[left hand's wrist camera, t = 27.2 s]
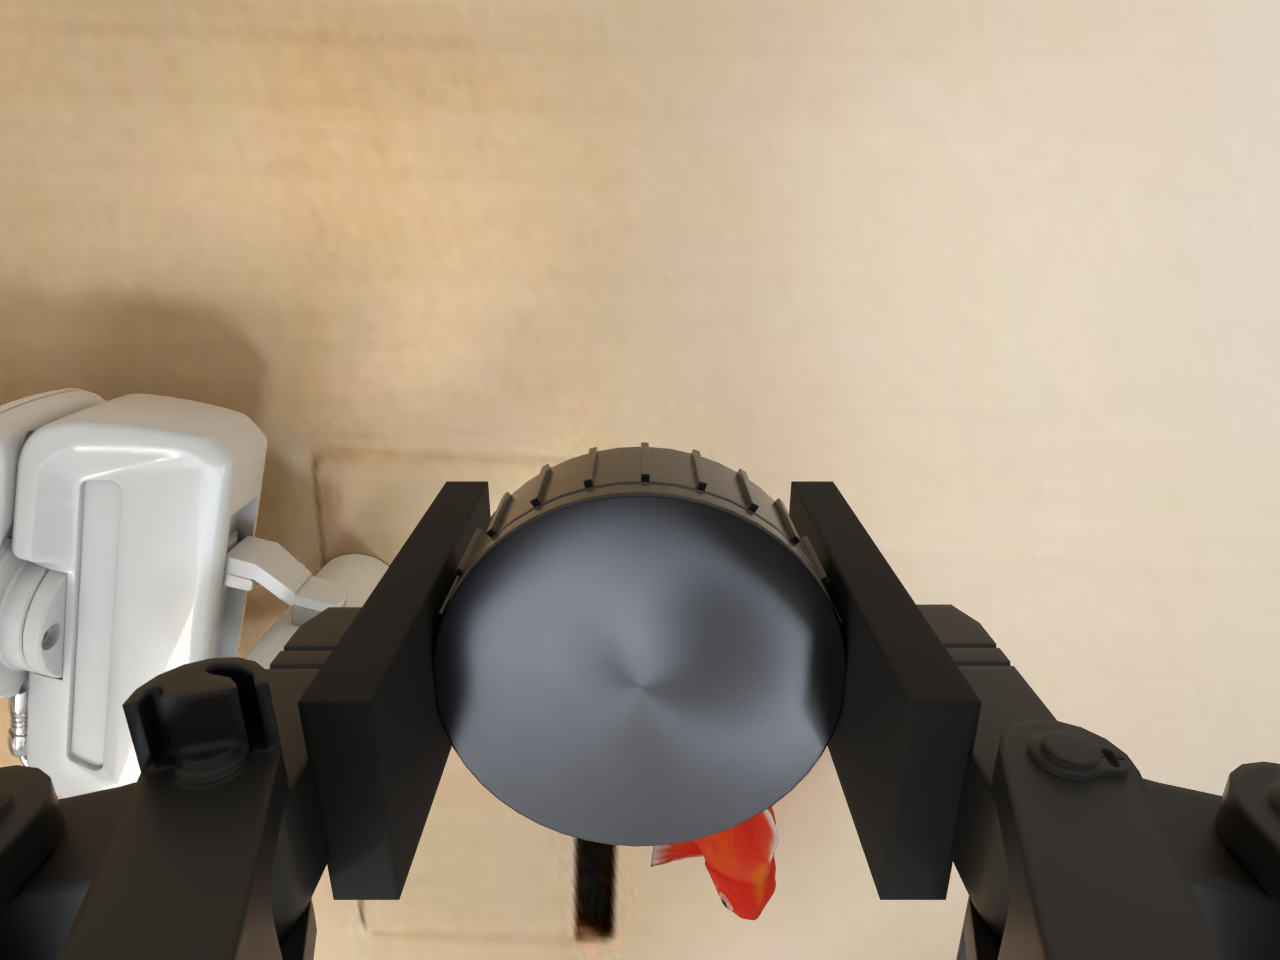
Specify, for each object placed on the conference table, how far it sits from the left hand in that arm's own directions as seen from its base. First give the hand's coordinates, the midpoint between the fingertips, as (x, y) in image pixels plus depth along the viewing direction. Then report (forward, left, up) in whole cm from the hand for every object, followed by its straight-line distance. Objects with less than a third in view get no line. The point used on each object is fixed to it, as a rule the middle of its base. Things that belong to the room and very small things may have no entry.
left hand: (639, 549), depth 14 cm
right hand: (+2, +19, -17) cm, 26 cm away
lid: (0, 0, +4) cm, 4 cm away
